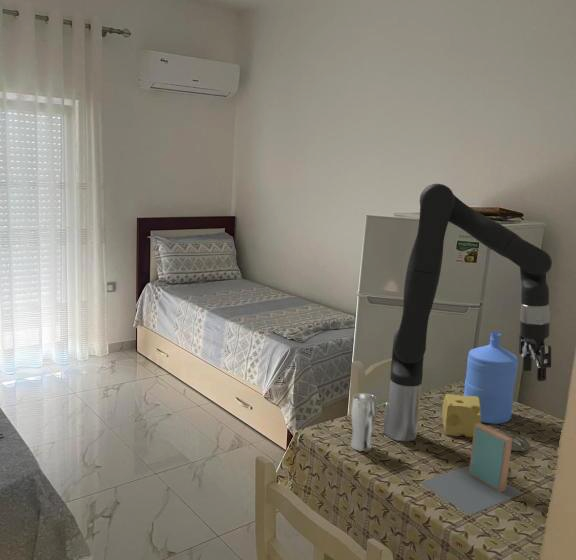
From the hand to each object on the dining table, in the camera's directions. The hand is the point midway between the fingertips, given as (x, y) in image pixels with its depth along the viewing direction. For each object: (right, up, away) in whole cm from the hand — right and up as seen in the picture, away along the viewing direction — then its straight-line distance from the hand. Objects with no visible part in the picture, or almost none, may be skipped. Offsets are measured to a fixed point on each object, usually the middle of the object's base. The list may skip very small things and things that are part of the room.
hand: (534, 375), depth 162 cm
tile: (-18, -25, -14) cm, 34 cm away
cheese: (-16, -20, +16) cm, 31 cm away
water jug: (-4, -18, +29) cm, 35 cm away
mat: (-24, -26, -17) cm, 39 cm away
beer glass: (-49, -21, +2) cm, 53 cm away
